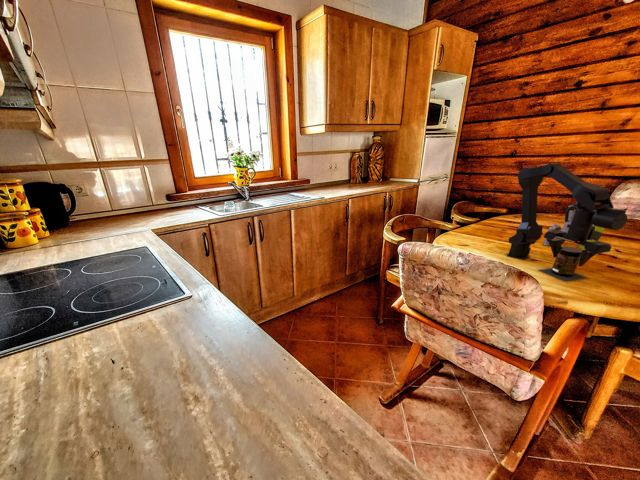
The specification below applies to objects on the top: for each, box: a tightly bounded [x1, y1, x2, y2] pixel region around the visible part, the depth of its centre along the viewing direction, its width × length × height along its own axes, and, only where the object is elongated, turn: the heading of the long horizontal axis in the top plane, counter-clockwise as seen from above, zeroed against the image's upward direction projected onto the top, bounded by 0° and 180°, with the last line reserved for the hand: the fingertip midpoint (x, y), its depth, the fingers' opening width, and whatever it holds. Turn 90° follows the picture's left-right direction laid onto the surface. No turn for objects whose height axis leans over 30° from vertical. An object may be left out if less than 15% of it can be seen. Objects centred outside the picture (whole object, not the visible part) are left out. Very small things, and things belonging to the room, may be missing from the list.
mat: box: [538, 267, 587, 282], centre depth 110 cm, size 10×10×1 cm
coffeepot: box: [559, 204, 576, 233], centre depth 147 cm, size 15×9×18 cm, turn 103°
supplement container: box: [550, 245, 582, 277], centre depth 108 cm, size 7×7×10 cm
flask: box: [542, 222, 562, 247], centre depth 137 cm, size 9×3×11 cm, turn 121°
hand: (567, 261), depth 108 cm, fingers open, 9 cm apart
